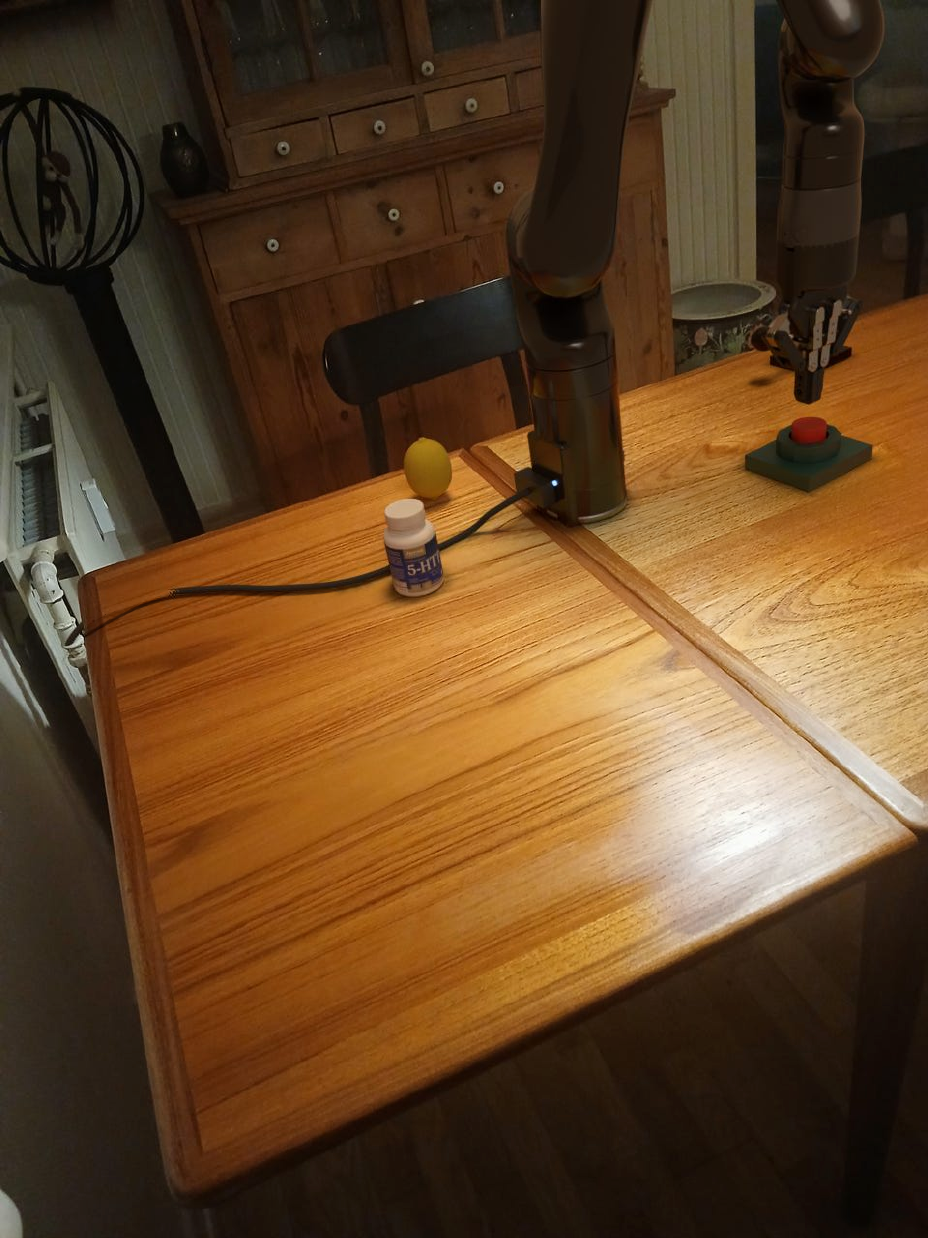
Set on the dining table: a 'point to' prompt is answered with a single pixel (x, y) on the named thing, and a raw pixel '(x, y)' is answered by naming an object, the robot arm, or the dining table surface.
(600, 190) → the robot arm
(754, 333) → the tap lever
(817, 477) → the button block
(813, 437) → the push button
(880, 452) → the dining table surface
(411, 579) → the pill bottle
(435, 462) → the lemon
